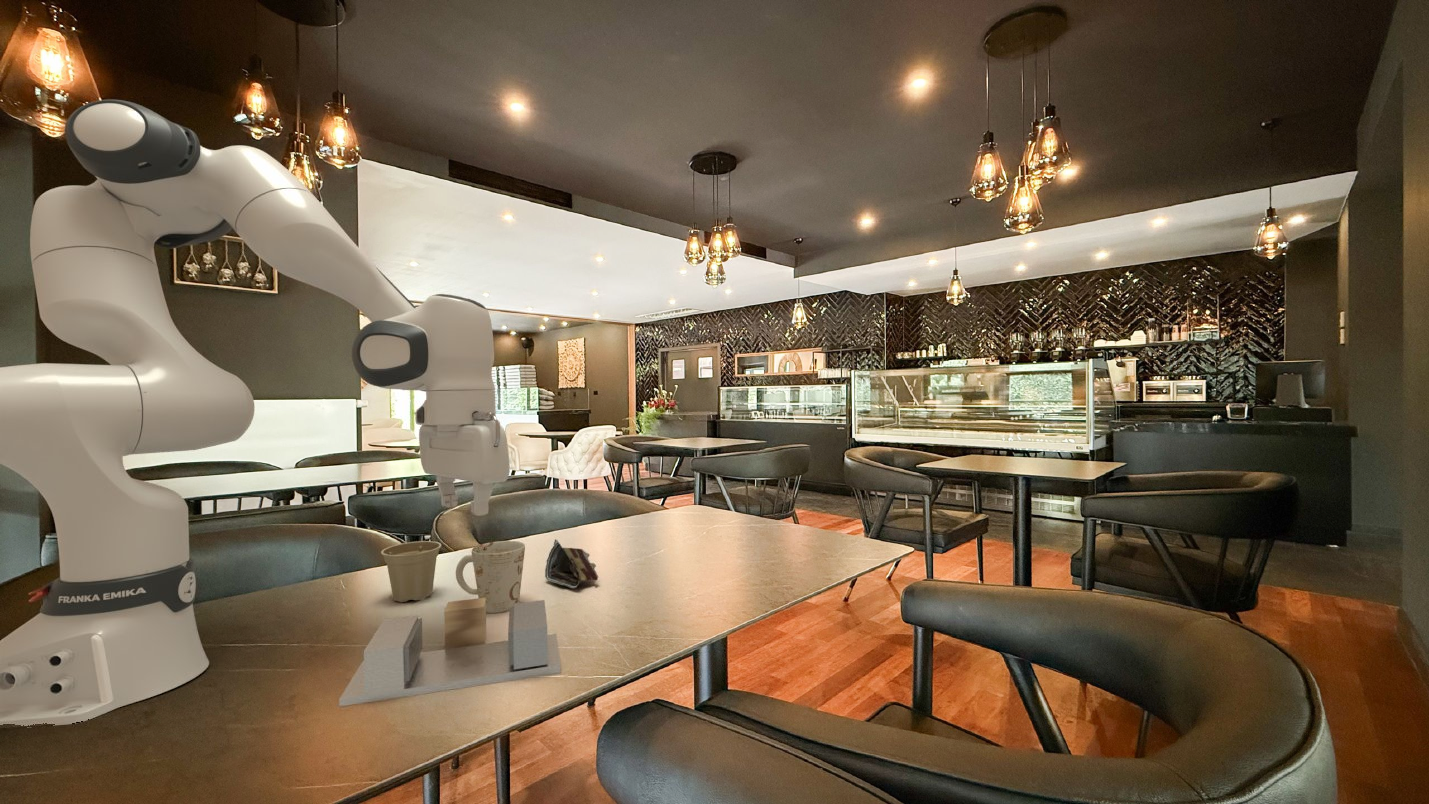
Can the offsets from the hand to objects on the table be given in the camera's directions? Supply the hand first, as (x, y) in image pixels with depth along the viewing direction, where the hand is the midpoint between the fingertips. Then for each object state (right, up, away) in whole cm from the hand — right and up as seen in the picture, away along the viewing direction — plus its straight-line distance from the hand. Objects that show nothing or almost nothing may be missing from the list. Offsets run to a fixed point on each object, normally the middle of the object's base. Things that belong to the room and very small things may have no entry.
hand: (464, 510), depth 80 cm
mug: (-3, -19, +16) cm, 25 cm away
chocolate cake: (+11, -21, +25) cm, 34 cm away
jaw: (+11, -17, -5) cm, 21 cm away
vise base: (+3, -19, -8) cm, 21 cm away
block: (0, -19, 0) cm, 19 cm away
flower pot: (-18, -19, +21) cm, 34 cm away
